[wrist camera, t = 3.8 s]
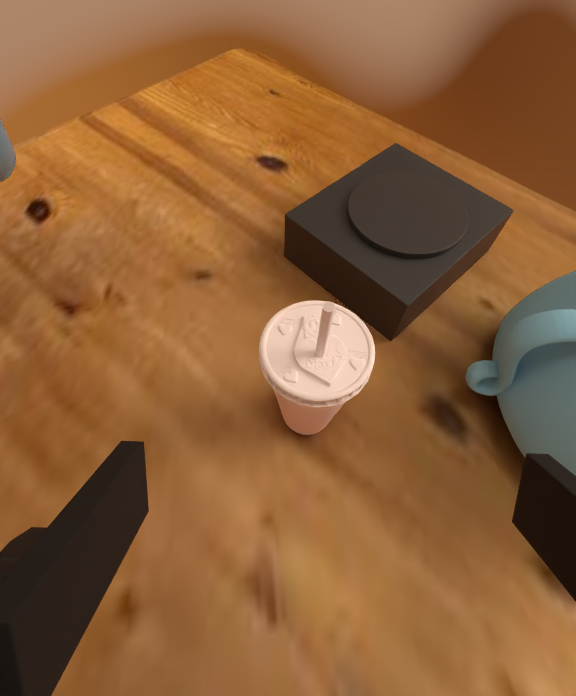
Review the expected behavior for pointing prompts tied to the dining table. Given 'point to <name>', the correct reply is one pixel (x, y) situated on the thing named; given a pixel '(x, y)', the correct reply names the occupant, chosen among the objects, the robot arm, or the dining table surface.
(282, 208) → the dining table surface
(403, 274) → the hot plate
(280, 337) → the smoothie
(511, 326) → the decorative pot
